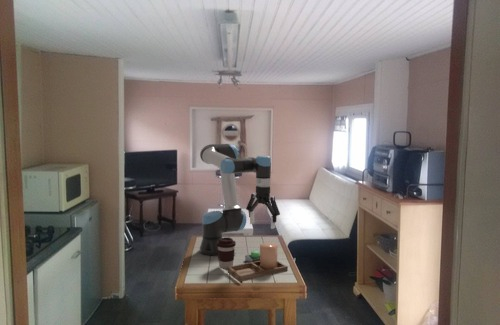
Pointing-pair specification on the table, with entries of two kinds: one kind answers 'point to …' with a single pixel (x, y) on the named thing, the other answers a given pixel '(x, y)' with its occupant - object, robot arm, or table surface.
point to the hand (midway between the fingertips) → (262, 225)
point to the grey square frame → (251, 259)
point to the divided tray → (253, 270)
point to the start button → (255, 254)
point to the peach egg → (268, 256)
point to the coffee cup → (226, 252)
